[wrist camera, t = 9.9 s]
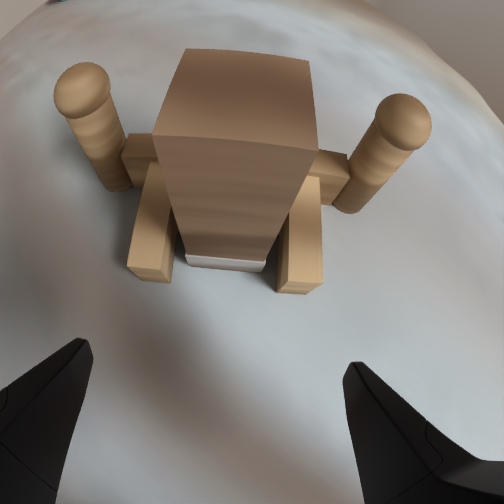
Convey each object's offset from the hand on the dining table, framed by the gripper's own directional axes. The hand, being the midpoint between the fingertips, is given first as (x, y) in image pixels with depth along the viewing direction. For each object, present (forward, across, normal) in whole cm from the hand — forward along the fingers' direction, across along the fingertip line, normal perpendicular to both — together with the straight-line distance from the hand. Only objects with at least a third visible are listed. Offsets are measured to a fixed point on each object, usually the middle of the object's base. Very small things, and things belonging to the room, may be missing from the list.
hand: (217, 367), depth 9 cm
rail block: (+12, 0, +1) cm, 12 cm away
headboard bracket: (+13, 0, 0) cm, 13 cm away
